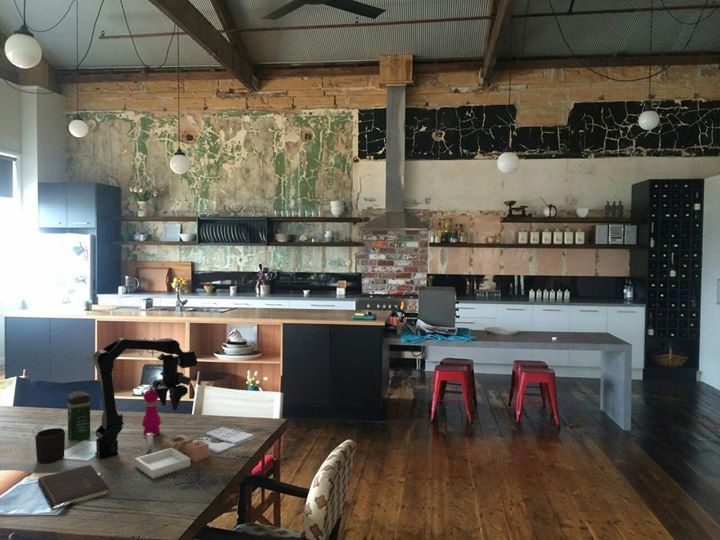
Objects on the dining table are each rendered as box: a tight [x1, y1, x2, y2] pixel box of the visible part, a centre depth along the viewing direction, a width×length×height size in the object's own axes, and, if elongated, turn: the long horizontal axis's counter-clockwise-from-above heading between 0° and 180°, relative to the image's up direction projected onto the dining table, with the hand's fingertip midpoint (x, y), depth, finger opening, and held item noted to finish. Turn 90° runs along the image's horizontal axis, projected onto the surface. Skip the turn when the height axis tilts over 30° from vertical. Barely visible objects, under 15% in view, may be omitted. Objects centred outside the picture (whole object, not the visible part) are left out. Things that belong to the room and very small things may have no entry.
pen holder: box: [34, 427, 66, 465], centre depth 191 cm, size 9×9×10 cm
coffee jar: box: [67, 390, 91, 441], centre depth 212 cm, size 10×8×19 cm
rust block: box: [185, 440, 210, 462], centre depth 194 cm, size 6×6×5 cm
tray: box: [134, 448, 192, 480], centre depth 186 cm, size 14×14×3 cm
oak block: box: [162, 434, 194, 454], centre depth 201 cm, size 8×8×4 cm
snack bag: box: [193, 426, 255, 454], centre depth 211 cm, size 19×20×2 cm
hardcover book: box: [37, 464, 110, 509], centre depth 169 cm, size 16×23×2 cm
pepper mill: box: [141, 385, 162, 436], centre depth 218 cm, size 7×7×20 cm
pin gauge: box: [145, 433, 154, 455], centre depth 197 cm, size 2×2×8 cm
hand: (169, 407), depth 211 cm, fingers open, 9 cm apart
